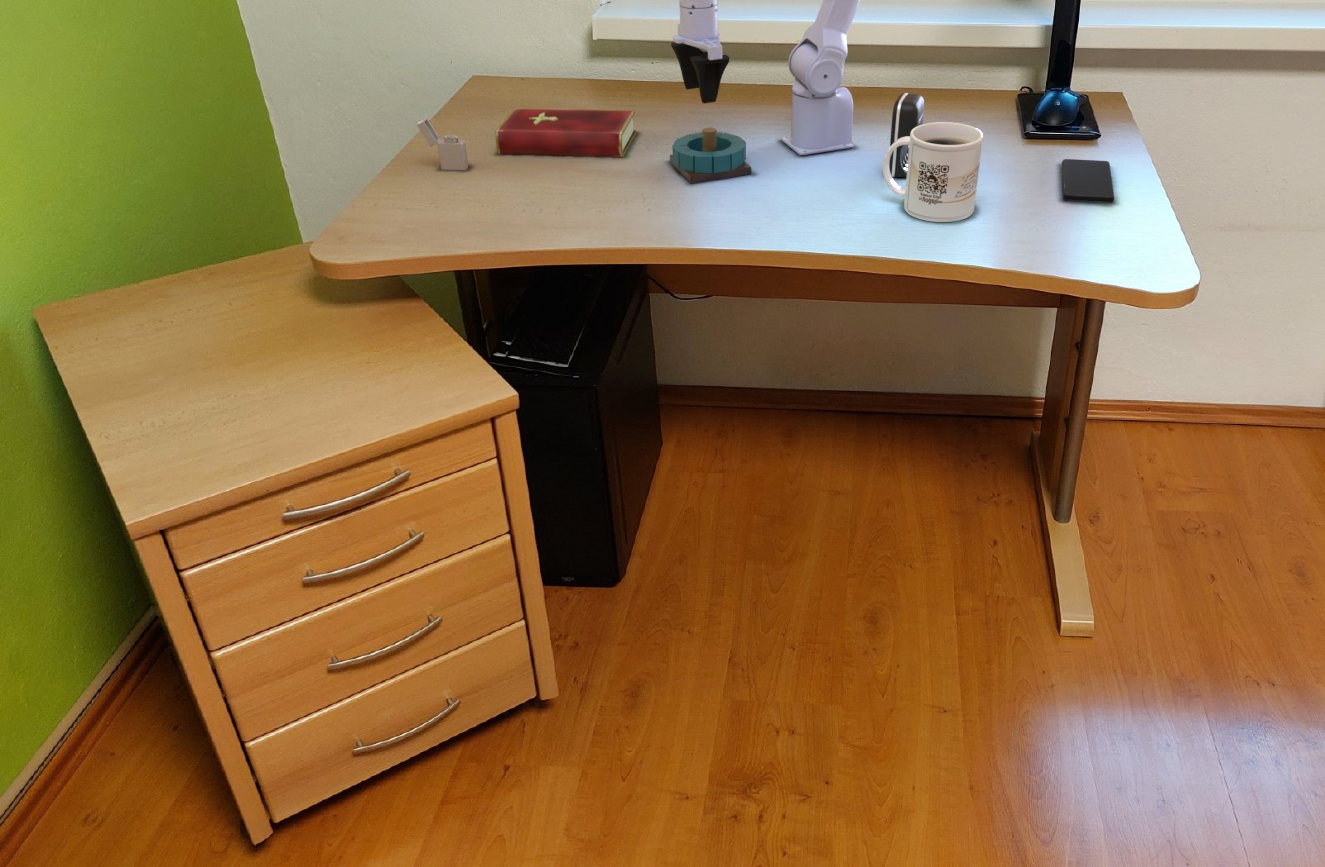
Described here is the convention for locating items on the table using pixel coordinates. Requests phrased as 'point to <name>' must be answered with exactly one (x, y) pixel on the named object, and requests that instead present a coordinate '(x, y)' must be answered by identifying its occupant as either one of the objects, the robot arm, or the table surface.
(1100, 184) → the smartphone
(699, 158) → the ring
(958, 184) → the mug
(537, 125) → the hardcover book
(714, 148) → the stand
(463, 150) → the lighter
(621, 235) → the table surface
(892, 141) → the battery charger
